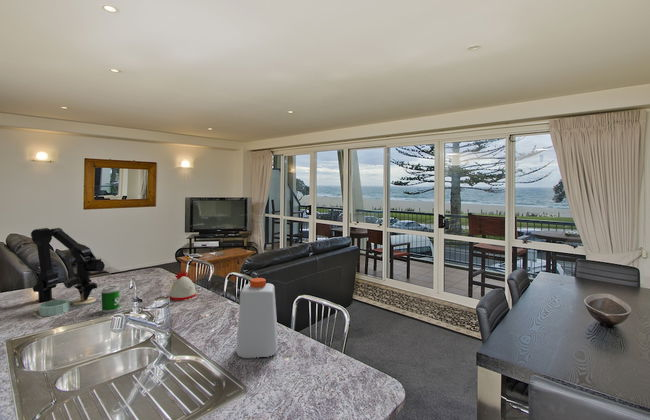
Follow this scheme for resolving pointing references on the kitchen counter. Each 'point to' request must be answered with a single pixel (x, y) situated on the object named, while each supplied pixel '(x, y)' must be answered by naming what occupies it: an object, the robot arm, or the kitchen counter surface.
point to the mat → (84, 305)
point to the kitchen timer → (182, 287)
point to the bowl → (54, 307)
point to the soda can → (110, 299)
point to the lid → (82, 301)
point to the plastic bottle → (257, 320)
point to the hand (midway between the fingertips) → (84, 299)
